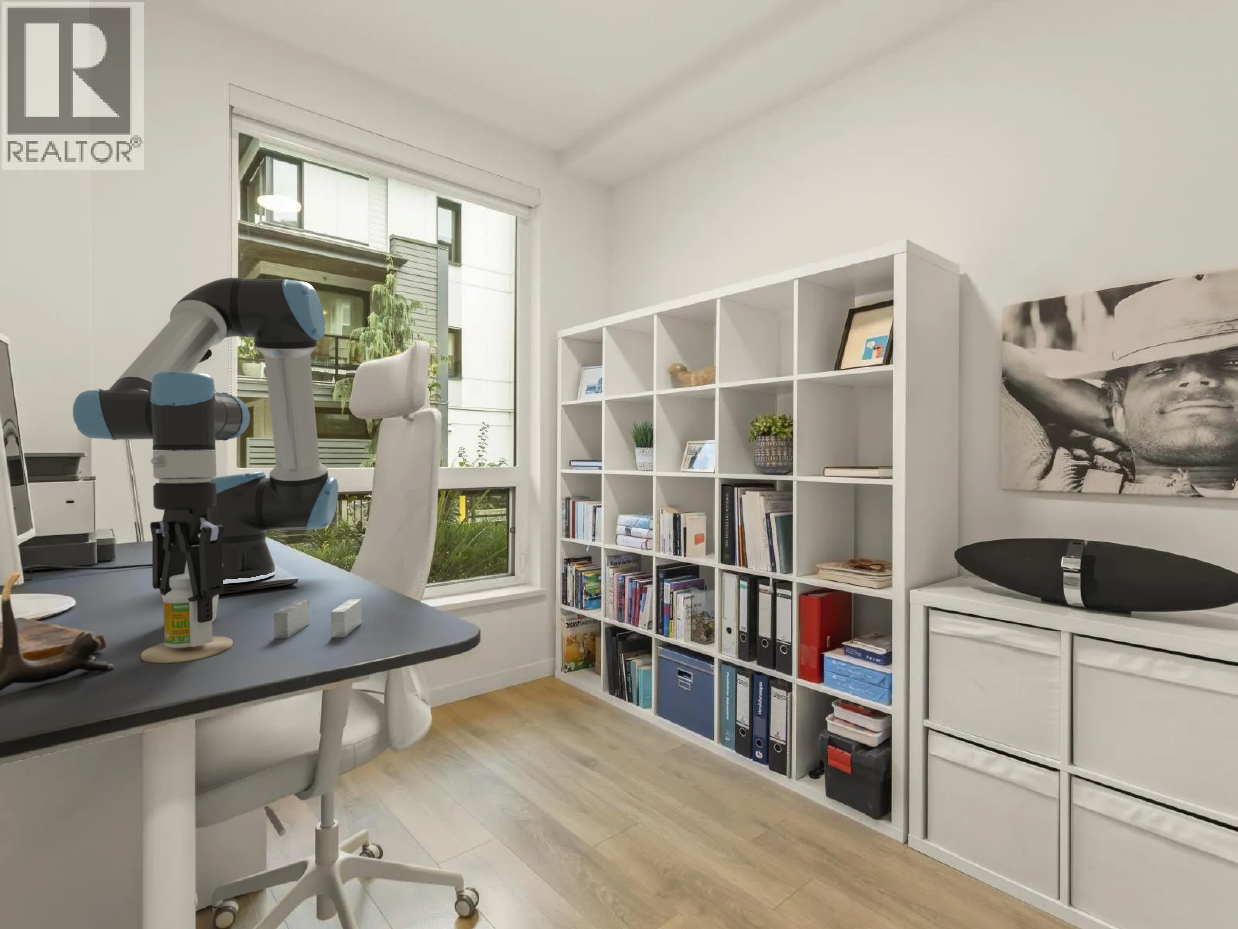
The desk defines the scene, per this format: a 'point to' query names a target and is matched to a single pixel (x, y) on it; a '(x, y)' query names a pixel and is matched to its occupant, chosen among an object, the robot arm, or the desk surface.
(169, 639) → the supplement bottle
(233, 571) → the robot arm
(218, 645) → the coaster
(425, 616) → the desk surface
